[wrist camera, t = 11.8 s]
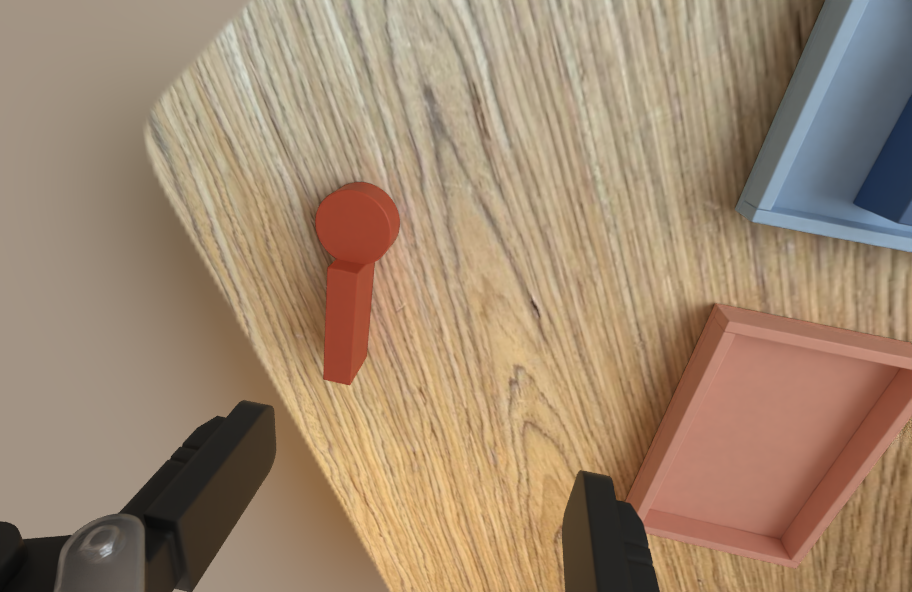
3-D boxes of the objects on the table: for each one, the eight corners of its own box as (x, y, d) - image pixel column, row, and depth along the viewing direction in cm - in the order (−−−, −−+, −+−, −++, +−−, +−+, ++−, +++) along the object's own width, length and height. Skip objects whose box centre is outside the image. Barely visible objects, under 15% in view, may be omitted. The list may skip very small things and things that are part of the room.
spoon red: (385, 360, 30) (370, 390, 27) (323, 347, 30) (302, 375, 27) (404, 189, 25) (388, 204, 22) (329, 175, 25) (304, 188, 22)
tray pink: (781, 540, 31) (796, 569, 29) (623, 503, 32) (628, 529, 30) (920, 344, 24) (950, 366, 22) (715, 302, 25) (728, 321, 23)
